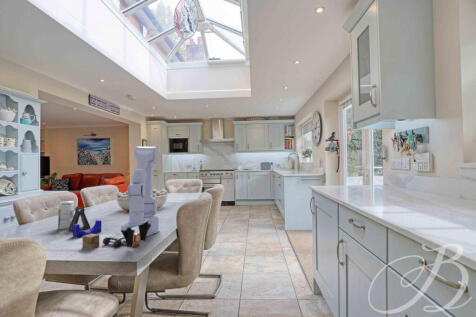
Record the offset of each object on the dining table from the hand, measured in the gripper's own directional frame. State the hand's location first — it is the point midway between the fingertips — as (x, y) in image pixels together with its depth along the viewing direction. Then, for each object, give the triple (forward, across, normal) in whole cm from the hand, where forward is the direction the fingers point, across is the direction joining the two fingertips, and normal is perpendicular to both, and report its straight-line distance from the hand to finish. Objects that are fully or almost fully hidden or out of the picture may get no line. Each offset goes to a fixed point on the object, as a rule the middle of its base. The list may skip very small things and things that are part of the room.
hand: (136, 243), depth 106 cm
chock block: (+2, +7, -18) cm, 19 cm away
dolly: (+2, 0, -11) cm, 11 cm away
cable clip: (+2, -6, -37) cm, 37 cm away
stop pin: (+2, 0, -3) cm, 3 cm away
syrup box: (+2, -11, -60) cm, 62 cm away
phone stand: (+2, -12, -50) cm, 52 cm away
